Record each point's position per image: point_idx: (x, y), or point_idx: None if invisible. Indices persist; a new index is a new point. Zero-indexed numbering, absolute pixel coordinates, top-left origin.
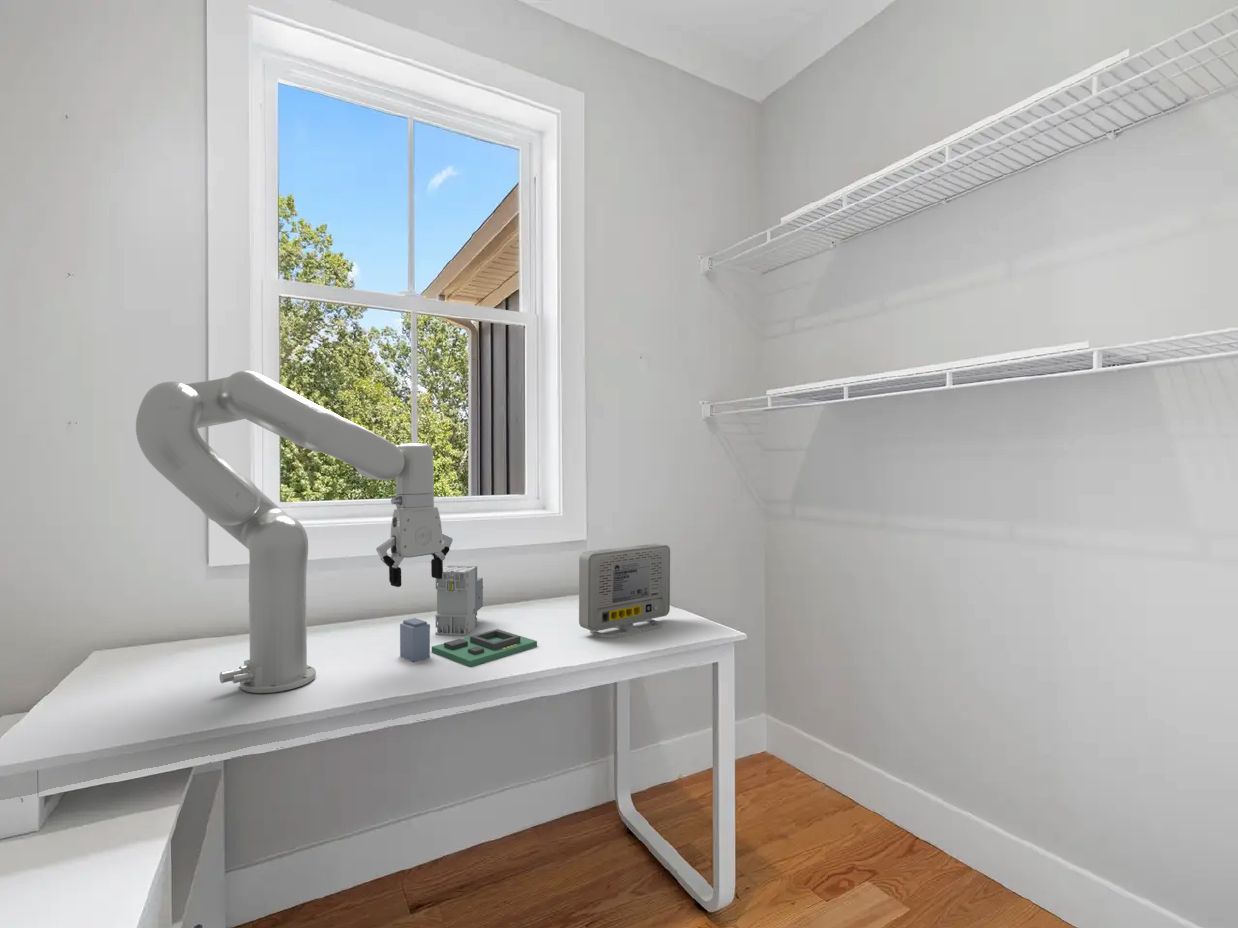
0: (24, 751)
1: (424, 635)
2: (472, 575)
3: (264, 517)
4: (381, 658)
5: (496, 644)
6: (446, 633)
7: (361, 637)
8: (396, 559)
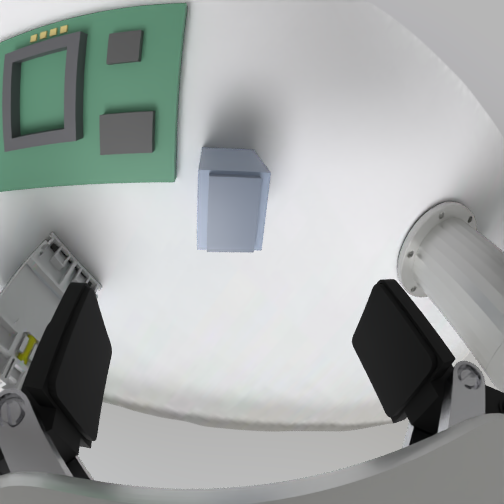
0: None
1: (220, 161)
2: None
3: None
4: (284, 226)
5: (73, 33)
6: (83, 269)
7: (226, 357)
8: (484, 409)
